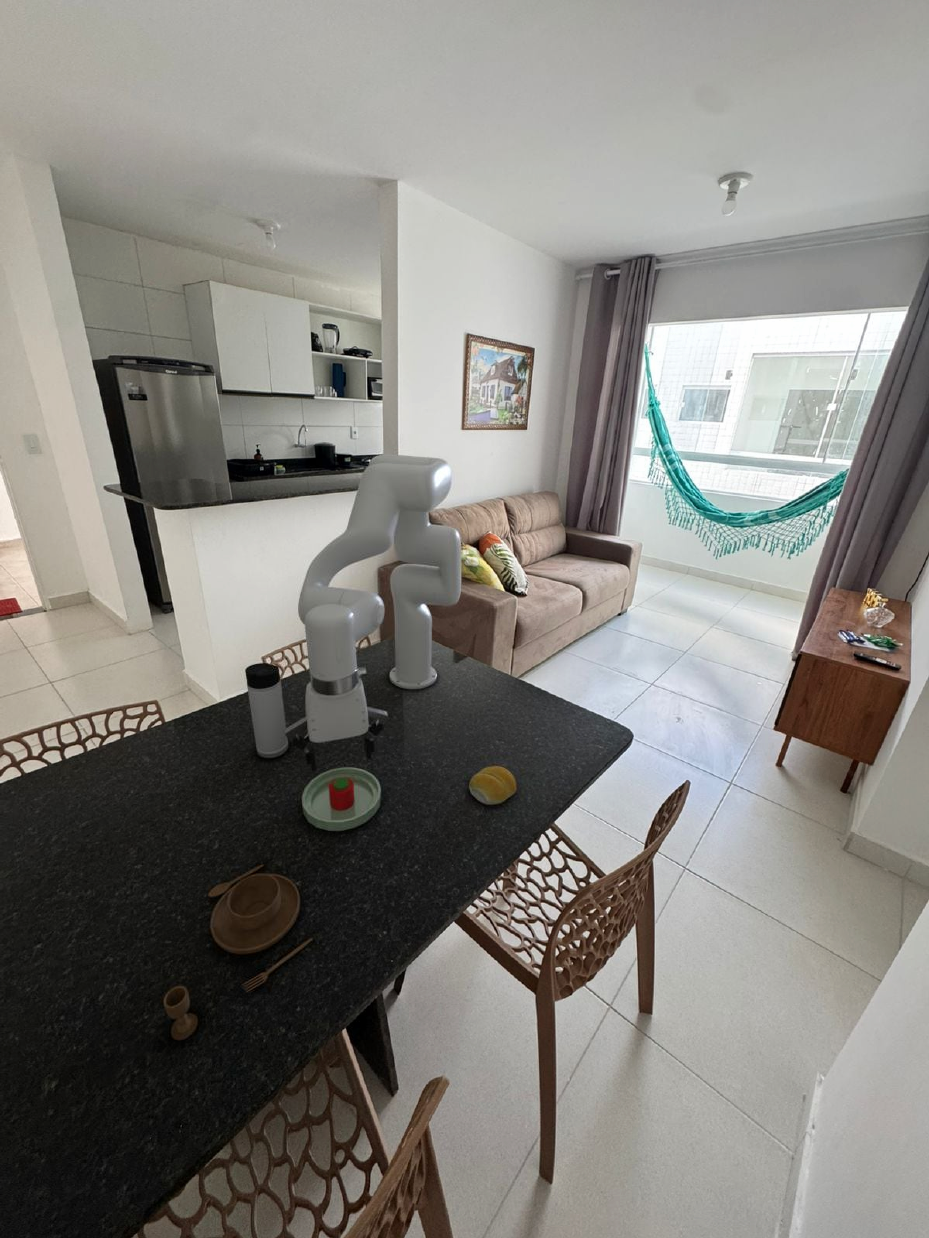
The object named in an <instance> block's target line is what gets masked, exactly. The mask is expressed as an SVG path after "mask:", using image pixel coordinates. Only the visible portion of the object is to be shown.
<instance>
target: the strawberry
mask: <svg viewBox="0 0 929 1238" xmlns="http://www.w3.org/2000/svg"><path fill="white" fill-rule="evenodd" d="M329 797H330V806H331V807H332V808H333V809H334V810H337V811H343V810H347V809H349V808H350V807H352V805H353V804H354V801H355V800H354V783H353V781H352V780H351V779H350V778H348V777H338V778H336V779H334V780H332V781H331V782H330V784H329Z"/></svg>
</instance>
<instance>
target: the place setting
mask: <svg viewBox="0 0 929 1238" xmlns="http://www.w3.org/2000/svg"><path fill="white" fill-rule="evenodd" d="M263 867H264V864H260V865H257V866H255V867H254V868H252V869H250V870H248V871H247V872H245V873H243V874H242V875H240V876H238V877H236V878H235V879H232V880H231V881H230V880H229V881H227V882H221V883H219V884H217V885H215V886H214V887H213V888H212V889H211V890H210V891H209V892H208V893H207V896H208V898H216V897H219V896H221V898H220V899H219V900H218V901H217V903H216V904H215V906H214V908H213V911H212V914H211V917H210V924H209V925H210V932H211V936H212V938H213V940H214V941H215V943H216V944H217V946H219V947H220V948H221V949H222V950H224V951H226V952H228V953H231V954H235V955H249V954H255V953H259V952H261V951H264V950H266V949H268V948H270V947H271V946H273V945H275V944H276V943H278V942H279V941H281V939H283V938H284V937H285V936H286V935H287V934H288V933H289V931H290V930H291V928H292V927H293V925H294V924H295V922H296V920H297V918H298V915H299V912H300V907H301V898H300V897H301V896H300V892H299V889H298V887H297V886H296V884H295V883H294V882H293V880H291V879H290V878H288V877H286V876H284V875H281V874H277V873H255V872H257V871H258V870H260V869H261V868H263ZM254 873H255V874H254ZM239 880H240V881H239ZM235 883H236V884H235ZM231 886H232V887H231ZM312 941H313V937H311V938H309V939H307V940H306V941H304V942H303V943H302V944H300V945H299V946H297V947H296V948H295V949H293V950H292V951H291V952H290V953H287V955H286V956H284V957H283V958H282V959H280V960H279V961H278V962H276V963H275V964H274V965H272V966H271V967H270V968H269V969H267V970H266V971H265V972H261V973H259V974H257V975H256V976H254V977H253V978H251V979H249V980H247V981H246V982H244V983H243V984H242V986H243V987H242V989H244V991H245V993H249V992H251V991H252V990H254V989H255V988H257V987H259V986H260V985H262V984H264V983H265V982H266V981H267V979H268V977H269V975H270V974H271V973H272V972H273V971H275V970H276V969H277V968H279V967H280V966H281V965H283V964H284V963H285V962H286V961H288V960H289V959H291V958H292V957H294V956H295V955H296V954H297V953H299V952H300V951H301V950H302V949H304V948H305V947H306V946H307V945H309V944H310V943H311V942H312ZM190 1003H191V1001H190V995H189V992H188V989H187V987H186V986H185V985H177V986H174V987H172V988H171V989H170V990H168V991H167V992H166V994H165V996H164V998H163V1007H164V1010H165V1012H166V1014H167V1016H168V1017H169V1018H170V1019H172V1020H175V1021H174V1023H173V1024H172V1026H171V1029H170V1036H171V1037H172V1039H174V1040H175V1041H184V1040H186V1039H187V1038H189V1037H190V1036H192V1035H193V1034H194V1032H195V1031H196V1029H197V1027H198V1023H199V1022H198V1020H199V1019H198V1016H197V1015H196V1014H194V1013H192V1012H188V1011H189V1008H190V1006H191V1005H190Z"/></svg>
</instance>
